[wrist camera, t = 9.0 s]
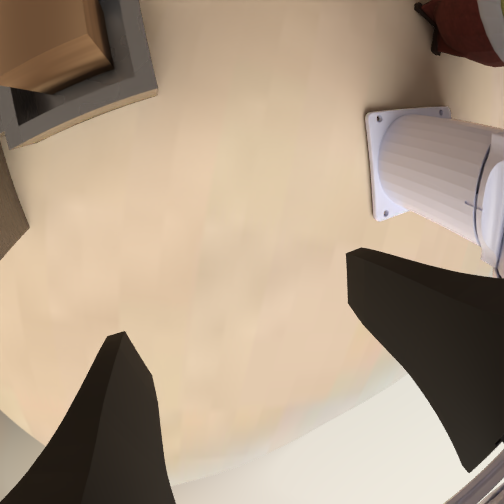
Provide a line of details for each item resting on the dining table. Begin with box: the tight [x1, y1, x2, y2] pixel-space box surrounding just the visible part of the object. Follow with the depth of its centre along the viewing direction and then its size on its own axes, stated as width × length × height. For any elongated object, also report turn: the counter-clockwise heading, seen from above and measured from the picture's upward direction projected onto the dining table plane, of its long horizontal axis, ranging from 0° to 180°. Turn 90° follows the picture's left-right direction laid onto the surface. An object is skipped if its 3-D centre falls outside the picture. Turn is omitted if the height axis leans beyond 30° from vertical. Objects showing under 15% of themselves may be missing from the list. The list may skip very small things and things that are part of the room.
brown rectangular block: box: [0, 0, 115, 95], centre depth 8 cm, size 4×4×7 cm
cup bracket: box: [0, 0, 158, 260], centre depth 9 cm, size 11×16×5 cm
